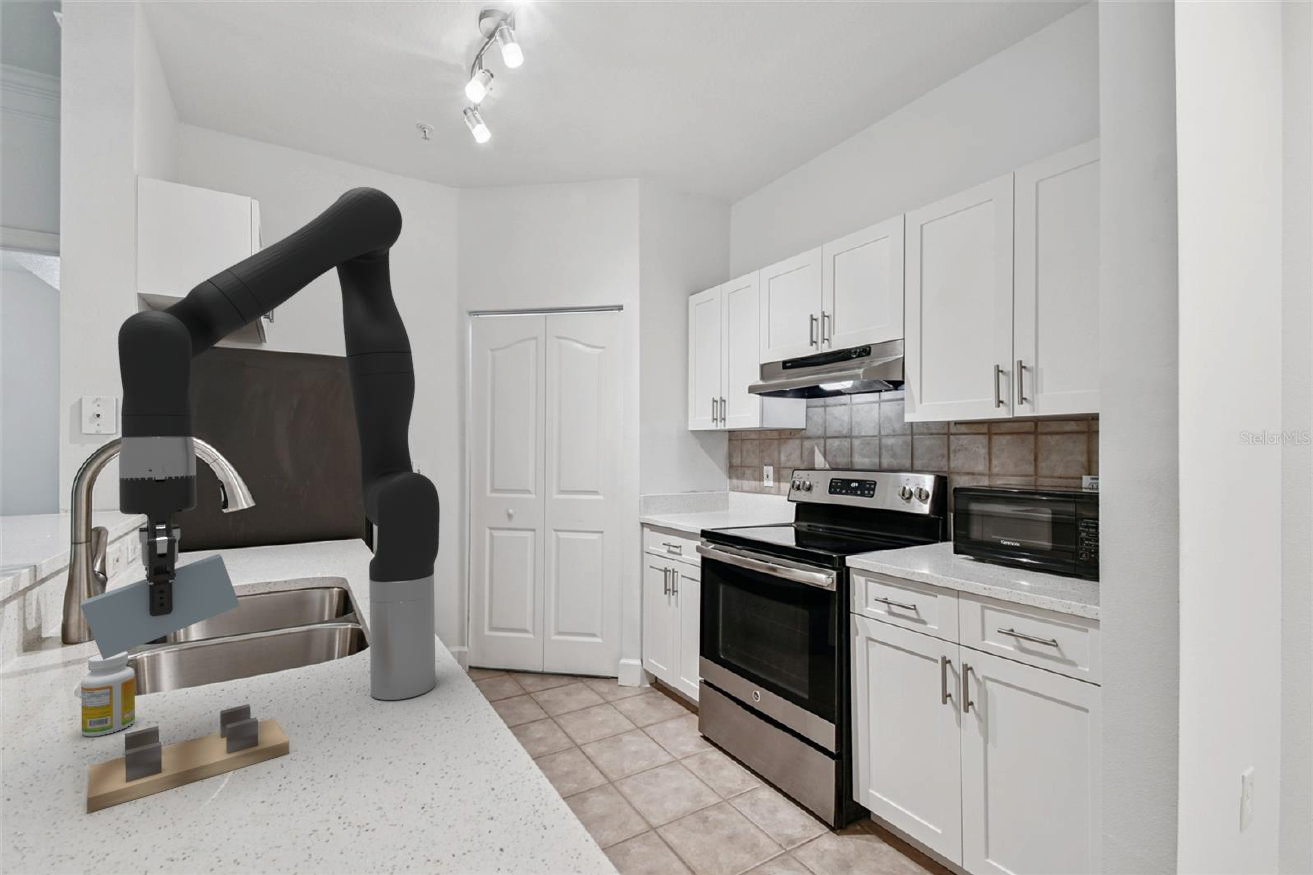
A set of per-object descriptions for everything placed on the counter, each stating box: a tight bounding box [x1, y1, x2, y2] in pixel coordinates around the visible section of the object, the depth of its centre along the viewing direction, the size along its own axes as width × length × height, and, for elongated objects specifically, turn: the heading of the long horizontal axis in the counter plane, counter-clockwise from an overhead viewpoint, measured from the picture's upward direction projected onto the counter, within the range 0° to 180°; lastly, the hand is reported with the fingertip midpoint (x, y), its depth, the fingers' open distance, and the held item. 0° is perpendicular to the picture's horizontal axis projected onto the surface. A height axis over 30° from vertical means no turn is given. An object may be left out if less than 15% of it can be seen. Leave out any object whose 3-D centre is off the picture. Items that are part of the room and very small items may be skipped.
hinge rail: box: [86, 703, 290, 814], centre depth 72 cm, size 18×9×4 cm, turn 131°
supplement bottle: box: [80, 651, 136, 737], centre depth 83 cm, size 5×5×10 cm
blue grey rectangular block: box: [80, 553, 241, 660], centre depth 78 cm, size 14×3×7 cm, turn 131°
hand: (160, 611), depth 77 cm, fingers closed on blue grey rectangular block, 3 cm apart
